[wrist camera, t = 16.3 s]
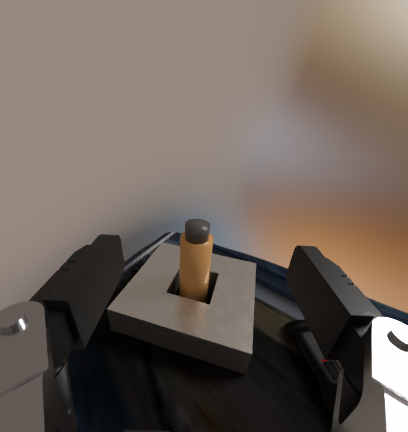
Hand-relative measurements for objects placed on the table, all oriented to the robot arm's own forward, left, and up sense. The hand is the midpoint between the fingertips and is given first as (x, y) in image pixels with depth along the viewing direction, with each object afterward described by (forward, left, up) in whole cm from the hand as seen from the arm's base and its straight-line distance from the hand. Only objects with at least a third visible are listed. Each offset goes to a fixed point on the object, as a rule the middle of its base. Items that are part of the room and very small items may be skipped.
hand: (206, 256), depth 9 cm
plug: (+4, -15, -21) cm, 26 cm away
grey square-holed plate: (+4, -15, -21) cm, 26 cm away
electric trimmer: (-14, -9, -21) cm, 27 cm away
